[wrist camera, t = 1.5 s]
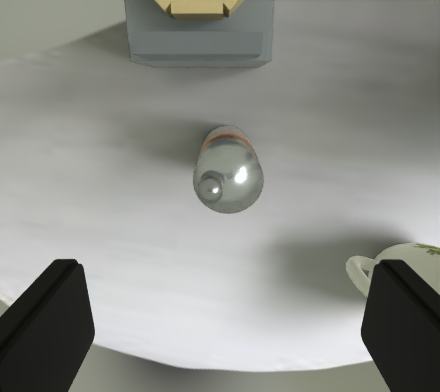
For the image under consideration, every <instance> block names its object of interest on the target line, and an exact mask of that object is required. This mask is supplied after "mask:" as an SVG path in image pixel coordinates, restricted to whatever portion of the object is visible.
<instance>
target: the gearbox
mask: <svg viewBox="0 0 440 392" xmlns="http://www.w3.org/2000/svg"><path fill="white" fill-rule="evenodd" d="M124 1H125V12H126V22H127V33H128V43H129V54H130V61H132V62H136V63H140V64H144V65H147V66H151V67H260V66H262V65H264V64H266V63H268V62H270V61H271V51H272V32H273V13H274V0H124Z"/></svg>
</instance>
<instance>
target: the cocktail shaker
mask: <svg viewBox="0 0 440 392" xmlns="http://www.w3.org/2000/svg"><path fill="white" fill-rule="evenodd" d="M263 182H264V177H263V171H262V168H261V166H260V164H259V162H258V159H257V156H256V154H255V151H254V149H253V147H252V145H251V143H250V142H249V140H248V138H247V136H246V135H245V134H244V133H243V132H242V131H241V130H240V129H238V128H236V127H233V126H220V127H217V128H215V129H214V130H212V131H211V132H210V133H209V134H208V135H207V137H206V139H205V141H204V144H203V146H202V148H201V151H200V154H199V157H198V160H197V165H196V168H195V171H194V175H193V185H194V190H195V192H196V194H197V196H198V198H199V199H200V201H201V202H202V203H203V204H204V205H205V206H207V207H208V208H210V209H211V210H214V211H216V212H219V213H227V214H230V213H237V212H240V211H243V210H245V209H247V208H248V207H250V206H251V205H252V204H253V203H254V202H255V201H256V200H257V199H258V197H259V195H260V194H261V191H262V188H263Z"/></svg>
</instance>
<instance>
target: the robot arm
mask: <svg viewBox="0 0 440 392" xmlns="http://www.w3.org/2000/svg"><path fill="white" fill-rule="evenodd" d="M94 335H95V328H94V323H93V317H92V312H91V306H90V301H89V295H88V290H87V284H86V279H85V274H84V268H83V265H82V264H78V262H77V260H75V259H56V260H54V261H53V262H52V263H51V264H50V265H49V266H48V267H47V268H46V270H45V271H44V272H43V273H42V274H41V275H40V276H39V277H38V278H37V279H36V280H35V281H34V282H33V283H32V284H31V285H30V286H29V287H28V288H27V289H26V291H25V292H24V293H23V294H22V295H21V296H20V297H19V298H18V299H17V300H16V301H15V302H14V303H13V304H12V305H11V306H10V307H9V308H8V310H7V311H6V312H5V313H4V314H3V315H2V316H1V317H0V392H68V390H69V388H70V386H71V384H72V382H73V380H74V378H75V376H76V374H77V372H78V370H79V368H80V366H81V364H82V362H83V360H84V358H85V356H86V354H87V352H88V350H89V348H90V346H91V344H92V342H93V340H94ZM361 337H362V340H363V343H364V344H365V346H366V348H367V350H368V352H369V353H370V355H371V357H372V359H373V361H374V362H375V364H376V366H377V368H378V369H379V371H380V373H381V375H382V377H383V378H384V380H385V382H386V384H387V386H388V387H389V389H390V391H391V392H440V295H439V294H438V293H437V292H436V291H435V290H434V289H433V288H432V287H431V286H430V285H429V284H428V283H427V282H426V281H425V280H423V279H422V278H421V277H420V276H419V275H418V274H417V273H416V272H415V271H414V270H413V269H412V268H411V267H410V266H409V265H408V264H407V263H406V262H405V261H403V260H401V259H382V260H381V261H380V262H379V264H376V265H375V266H374V269H373V273H372V278H371V283H370V288H369V293H368V298H367V303H366V307H365V312H364V317H363V322H362V327H361Z"/></svg>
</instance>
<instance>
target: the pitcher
mask: <svg viewBox="0 0 440 392" xmlns="http://www.w3.org/2000/svg"><path fill="white" fill-rule="evenodd" d="M382 259H401V260H403V261H405V262H406V263H407V264H408V265H409V266H410V267H411V268H412V269H413V270H414V271H415V272H416V273H417V274H418V275H419V276H420V277H421V278H422V279H423V280H425V281H426V282H427V283H428V284H429V285H430V286H431V287H432V288H433V289H434V290H435V291H436V292H437V293H438V294H439V295H440V248H438V247H435V246H431V245H426V244H420V243H404V244H397V245H393V246H390V247H388V248H386V249H384V250H383V251H382V252H380V253H379V254H378V255H377V256H376V257H375V259H374V260H373V259H371V258H367V257H364V256H353V257H350V258H349V259H348V261H347V262H346V271H347V273H348V275H349V277H350V279H351V280H352V281H353V283H354V284H355V285H356V287H357V288H358V289H359V290H360V291H361V292H362V293H363V294H364V295H365V296H366V297H367V298H368V293H369V288H370V283H371V278H372V273H373V269H374V266H375V265H376V264H379V262H380V261H381V260H382ZM362 269H364V270H368V271H369V274H368V277H367V276H366V275H365V274H364V272H363V271H362Z"/></svg>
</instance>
